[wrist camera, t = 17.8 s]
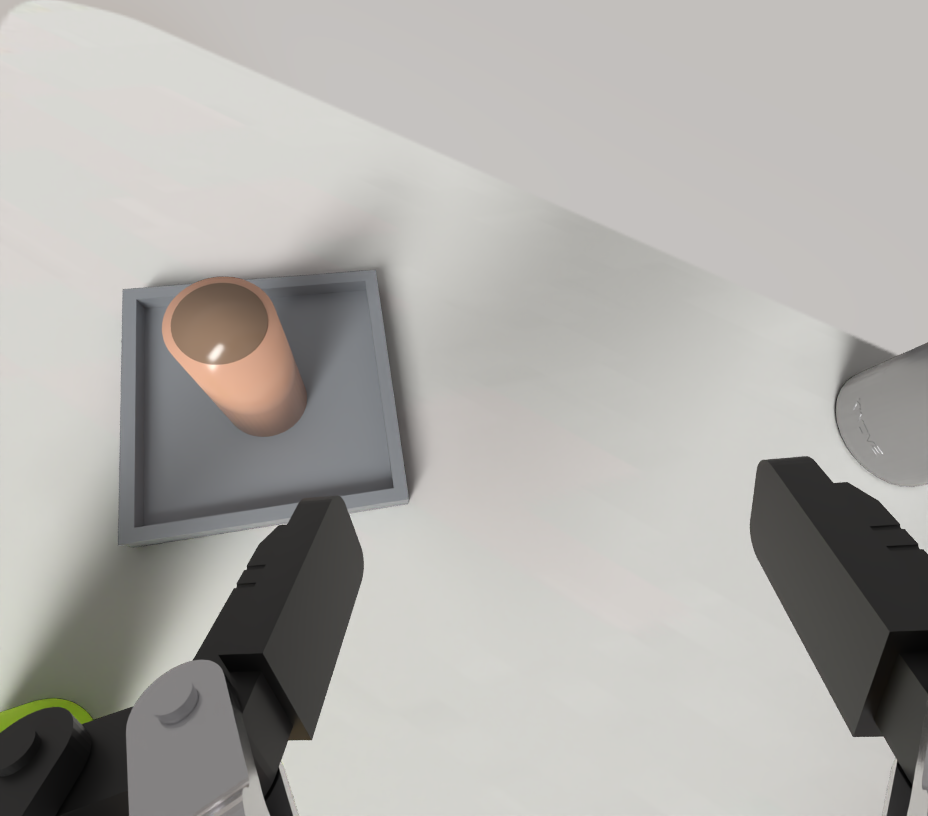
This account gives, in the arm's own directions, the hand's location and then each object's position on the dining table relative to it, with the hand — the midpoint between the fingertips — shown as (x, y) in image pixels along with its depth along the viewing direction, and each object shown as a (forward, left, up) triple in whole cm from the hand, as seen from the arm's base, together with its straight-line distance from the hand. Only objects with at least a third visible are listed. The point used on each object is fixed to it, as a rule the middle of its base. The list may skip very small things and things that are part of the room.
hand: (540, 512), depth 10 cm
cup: (+9, -12, -23) cm, 27 cm away
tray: (+9, -12, -24) cm, 28 cm away
